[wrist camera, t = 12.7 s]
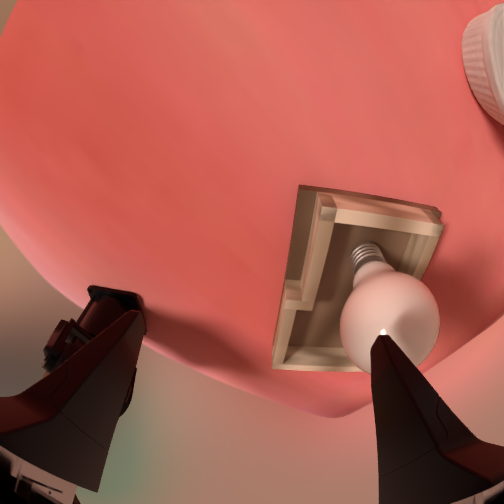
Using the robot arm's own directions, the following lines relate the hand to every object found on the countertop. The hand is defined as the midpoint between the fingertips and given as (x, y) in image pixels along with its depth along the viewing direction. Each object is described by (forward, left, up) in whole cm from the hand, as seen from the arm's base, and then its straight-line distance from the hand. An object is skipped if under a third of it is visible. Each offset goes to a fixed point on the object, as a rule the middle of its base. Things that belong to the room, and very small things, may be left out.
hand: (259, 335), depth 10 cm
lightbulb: (+8, -4, -12) cm, 15 cm away
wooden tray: (+8, -8, -13) cm, 17 cm away
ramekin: (+18, +15, -13) cm, 27 cm away
